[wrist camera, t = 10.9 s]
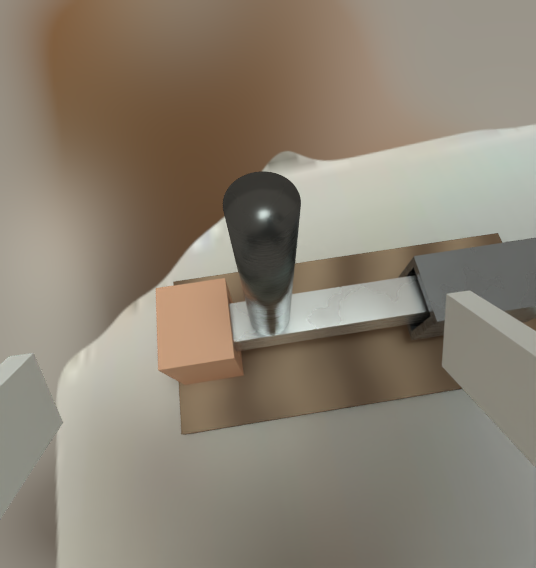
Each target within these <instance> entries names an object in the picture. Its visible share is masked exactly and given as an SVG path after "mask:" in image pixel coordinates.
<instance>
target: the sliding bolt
mask: <svg viewBox="0 0 536 568" xmlns="http://www.w3.org/2000/svg"><path fill="white" fill-rule="evenodd" d="M300 207H301V200H300V195H299V192H298V190H297V189H296V187H295V186H294V185H293V183H292V182H290V181H289V180H288V179H287V178H285V177H283V176H281V175H279V174H276V173H272V172H254V173H250V174H247V175H244V176H242V177H240V178H238V179H237V180H236V181H234V182H233V183H232V184H231V185H230V187H229V188H228V189H227V191H226V193H225V195H224V199H223V211H224V215H225V219H226V223H227V227H228V231H229V236H230V240H231V244H232V248H233V252H234V256H235V261H236V265H237V269H238V273H239V277H240V281H241V285H242V290H243V294H244V298H245V301H244V302H238V303H231V304H229V306H230V315H231V323H232V332H233V340H234V347H235V350H236V351H242V350H248V349H255V348H261V347H267V346H274V345H280V344H286V343H293V342H299V341H305V340H312V339H318V338H324V337H331V336H337V335H343V334H349V333H356V332H362V331H368V330H375V329H381V328H387V327H394V326H400V325H406V324H413V323H419V322H424V321H425V320H426V319H428V318H429V317H430V316H431V315H430V312H429V309H428V307H427V304H426V301H425V298H424V295H423V292H422V290H421V287H420V284H419V281H418V278H417V275H414V276H408V277H401V278H394V279H388V280H381V281H375V282H368V283H362V284H355V285H349V286H342V287H336V288H329V289H323V290H316V291H310V292H303V293H296V294H292V289H293V279H294V269H295V258H296V248H297V238H298V228H299V217H300Z"/></svg>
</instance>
